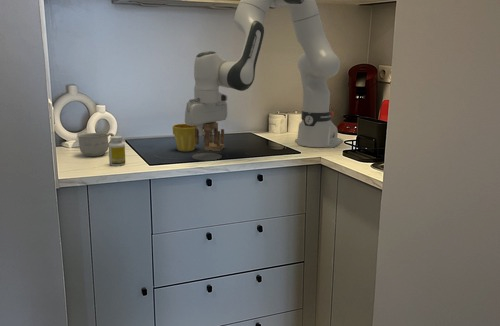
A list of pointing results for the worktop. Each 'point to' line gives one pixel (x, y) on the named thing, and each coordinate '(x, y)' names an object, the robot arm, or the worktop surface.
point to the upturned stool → (216, 146)
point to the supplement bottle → (116, 151)
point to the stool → (207, 133)
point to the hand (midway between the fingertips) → (206, 134)
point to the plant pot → (184, 137)
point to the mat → (206, 156)
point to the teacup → (94, 143)
